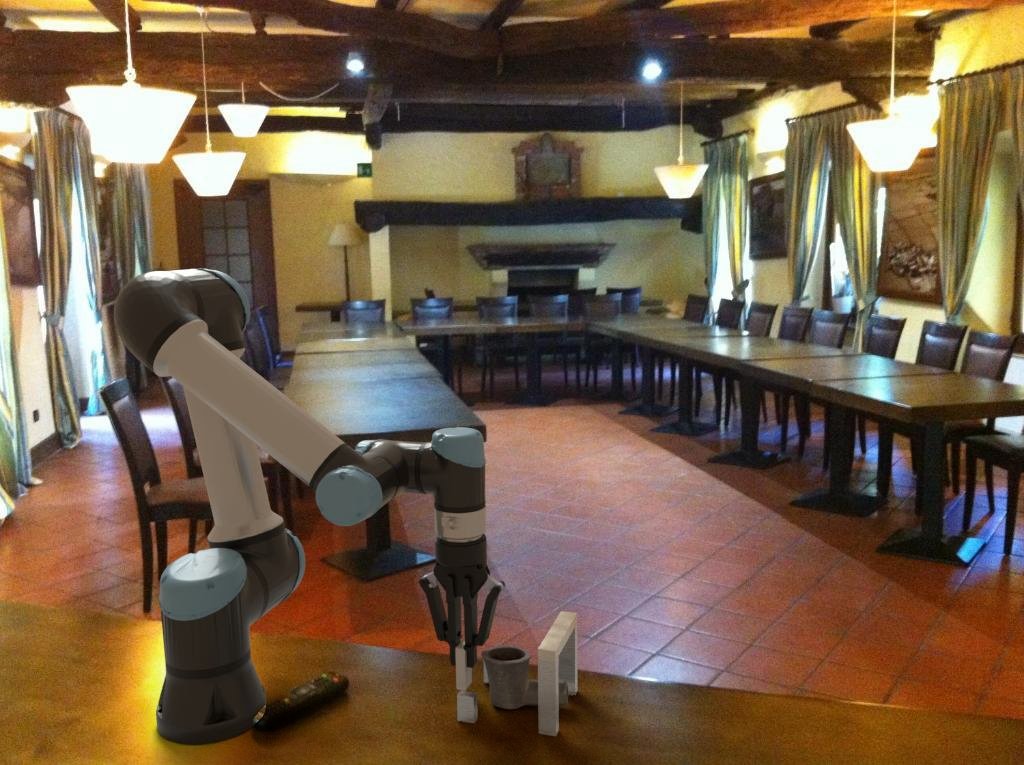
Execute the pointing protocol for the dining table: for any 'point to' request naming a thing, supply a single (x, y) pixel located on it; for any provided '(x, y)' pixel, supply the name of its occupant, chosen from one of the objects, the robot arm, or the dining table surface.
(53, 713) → the dining table surface
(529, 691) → the pipe
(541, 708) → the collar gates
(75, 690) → the dining table surface
